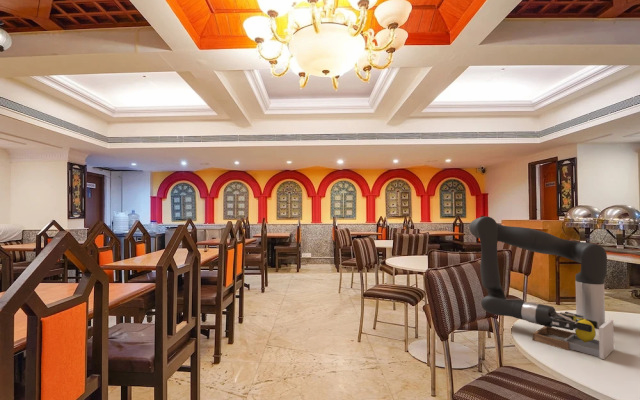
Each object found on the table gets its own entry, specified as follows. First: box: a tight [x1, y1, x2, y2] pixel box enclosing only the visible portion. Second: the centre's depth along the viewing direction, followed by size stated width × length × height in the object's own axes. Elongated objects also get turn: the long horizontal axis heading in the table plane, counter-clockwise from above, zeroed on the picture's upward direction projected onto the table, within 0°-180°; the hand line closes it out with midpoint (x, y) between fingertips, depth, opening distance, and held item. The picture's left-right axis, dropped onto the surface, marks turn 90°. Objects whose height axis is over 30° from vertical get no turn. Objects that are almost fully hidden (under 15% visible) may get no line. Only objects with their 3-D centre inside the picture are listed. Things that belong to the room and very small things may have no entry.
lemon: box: [574, 319, 596, 343], centre depth 116 cm, size 6×6×8 cm
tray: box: [563, 318, 615, 360], centre depth 115 cm, size 12×11×10 cm
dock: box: [531, 326, 576, 351], centre depth 122 cm, size 12×11×2 cm
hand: (594, 326), depth 114 cm, fingers closed on lemon, 5 cm apart
